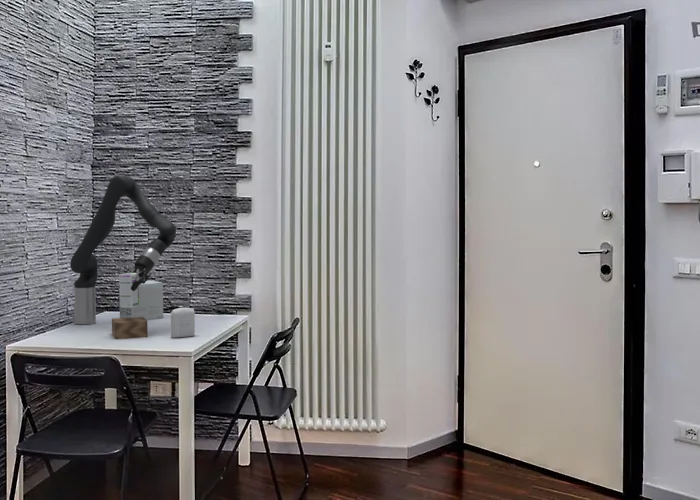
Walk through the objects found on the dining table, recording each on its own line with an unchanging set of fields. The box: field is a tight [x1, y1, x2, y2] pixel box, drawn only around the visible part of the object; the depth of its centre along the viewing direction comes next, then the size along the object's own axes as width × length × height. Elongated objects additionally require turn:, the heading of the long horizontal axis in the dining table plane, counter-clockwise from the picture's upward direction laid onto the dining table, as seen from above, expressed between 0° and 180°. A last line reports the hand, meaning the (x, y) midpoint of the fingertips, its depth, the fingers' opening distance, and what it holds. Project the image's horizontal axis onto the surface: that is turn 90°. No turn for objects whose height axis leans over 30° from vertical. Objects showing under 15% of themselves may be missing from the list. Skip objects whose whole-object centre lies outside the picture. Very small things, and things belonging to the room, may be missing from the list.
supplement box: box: [118, 280, 164, 321], centre depth 334 cm, size 17×13×18 cm
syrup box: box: [118, 272, 139, 308], centre depth 288 cm, size 6×6×14 cm
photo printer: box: [170, 307, 196, 339], centre depth 286 cm, size 10×4×12 cm, turn 126°
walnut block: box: [111, 317, 149, 340], centre depth 288 cm, size 13×13×7 cm
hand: (126, 289), depth 286 cm, fingers closed on syrup box, 7 cm apart
